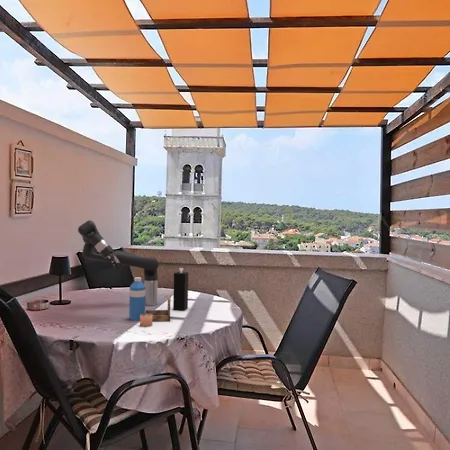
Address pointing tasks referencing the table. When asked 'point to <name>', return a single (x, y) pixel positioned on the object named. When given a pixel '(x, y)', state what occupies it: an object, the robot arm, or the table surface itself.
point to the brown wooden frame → (160, 313)
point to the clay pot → (146, 320)
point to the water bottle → (137, 299)
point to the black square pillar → (180, 290)
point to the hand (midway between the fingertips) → (121, 269)
